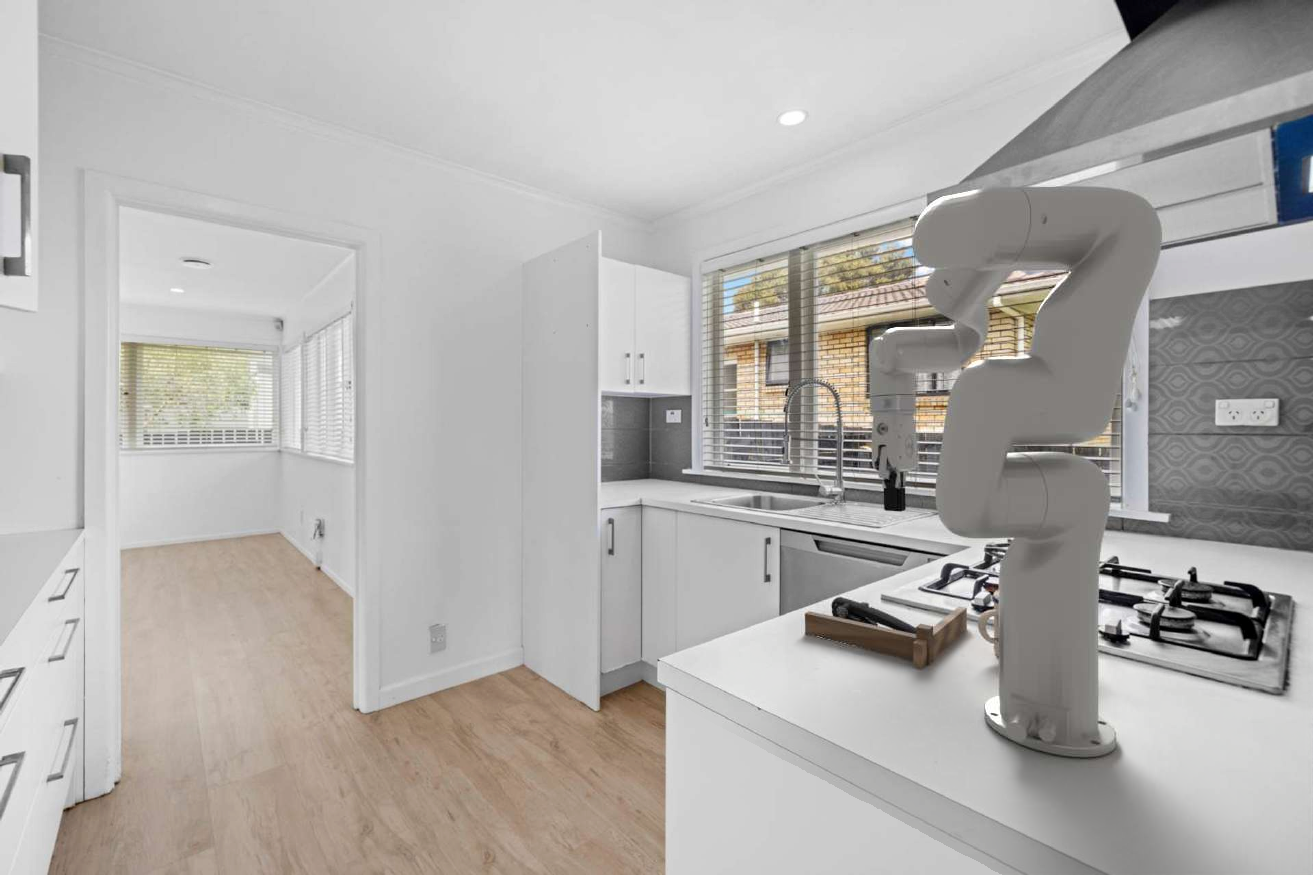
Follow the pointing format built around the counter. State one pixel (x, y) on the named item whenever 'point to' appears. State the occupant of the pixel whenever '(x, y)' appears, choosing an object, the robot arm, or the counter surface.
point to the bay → (891, 635)
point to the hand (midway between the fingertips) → (894, 510)
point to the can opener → (867, 615)
